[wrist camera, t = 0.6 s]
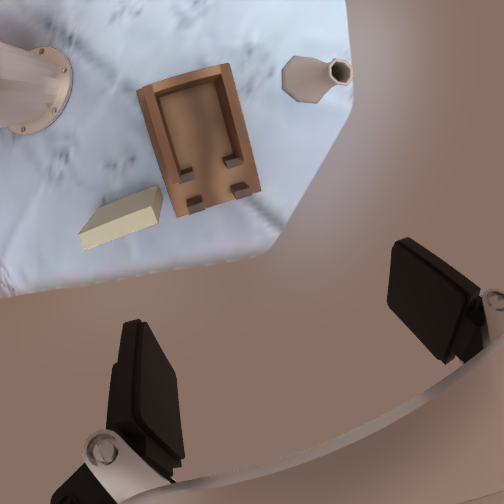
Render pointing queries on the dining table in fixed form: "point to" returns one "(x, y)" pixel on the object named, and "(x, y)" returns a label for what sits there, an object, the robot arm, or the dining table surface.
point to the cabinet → (200, 138)
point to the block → (122, 217)
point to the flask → (313, 77)
